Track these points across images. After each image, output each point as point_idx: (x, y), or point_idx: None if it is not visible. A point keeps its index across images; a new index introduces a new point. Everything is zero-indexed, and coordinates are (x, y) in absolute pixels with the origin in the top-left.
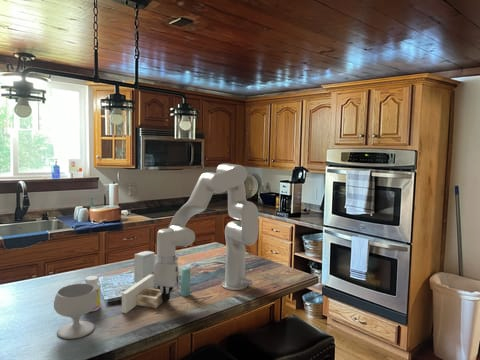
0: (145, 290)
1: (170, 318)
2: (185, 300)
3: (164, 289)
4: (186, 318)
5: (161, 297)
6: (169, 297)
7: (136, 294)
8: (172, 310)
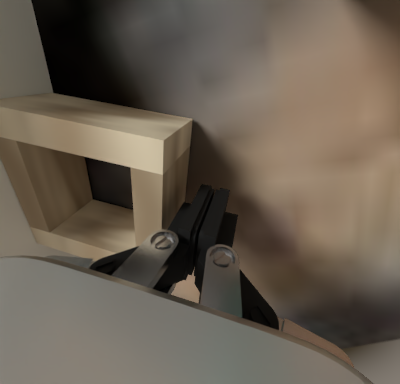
0: (16, 169)
1: (278, 310)
2: (377, 101)
3: (169, 271)
4: (364, 320)
5: (172, 209)
6: (235, 226)
7: (29, 246)
8: (275, 253)
